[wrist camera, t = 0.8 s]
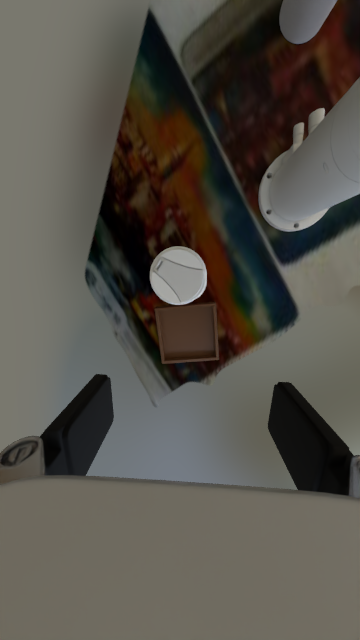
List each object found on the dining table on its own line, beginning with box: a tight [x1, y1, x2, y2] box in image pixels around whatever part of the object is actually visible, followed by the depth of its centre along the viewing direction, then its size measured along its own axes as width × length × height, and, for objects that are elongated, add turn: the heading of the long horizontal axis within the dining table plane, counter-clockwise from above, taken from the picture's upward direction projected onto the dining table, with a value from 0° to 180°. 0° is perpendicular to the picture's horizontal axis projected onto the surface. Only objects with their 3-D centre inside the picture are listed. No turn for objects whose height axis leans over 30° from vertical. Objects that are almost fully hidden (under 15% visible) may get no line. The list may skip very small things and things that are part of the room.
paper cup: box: [150, 246, 207, 305], centre depth 31 cm, size 8×8×14 cm
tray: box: [155, 302, 219, 364], centre depth 40 cm, size 12×12×2 cm
